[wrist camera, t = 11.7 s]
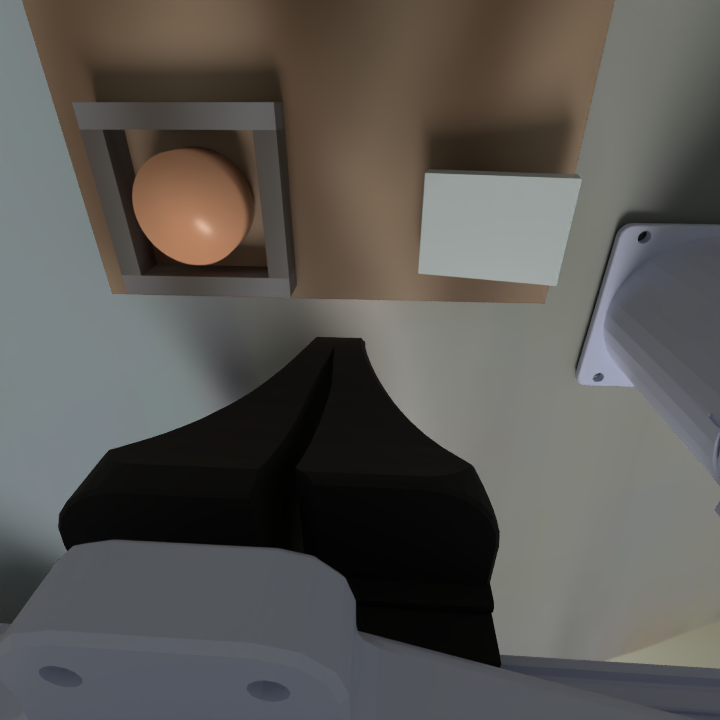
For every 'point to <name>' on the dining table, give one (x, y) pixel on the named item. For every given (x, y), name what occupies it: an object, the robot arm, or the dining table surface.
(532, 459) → the dining table surface
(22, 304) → the dining table surface
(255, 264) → the panel
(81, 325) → the dining table surface
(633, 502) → the dining table surface
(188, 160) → the push button
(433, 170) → the grey flat tile
